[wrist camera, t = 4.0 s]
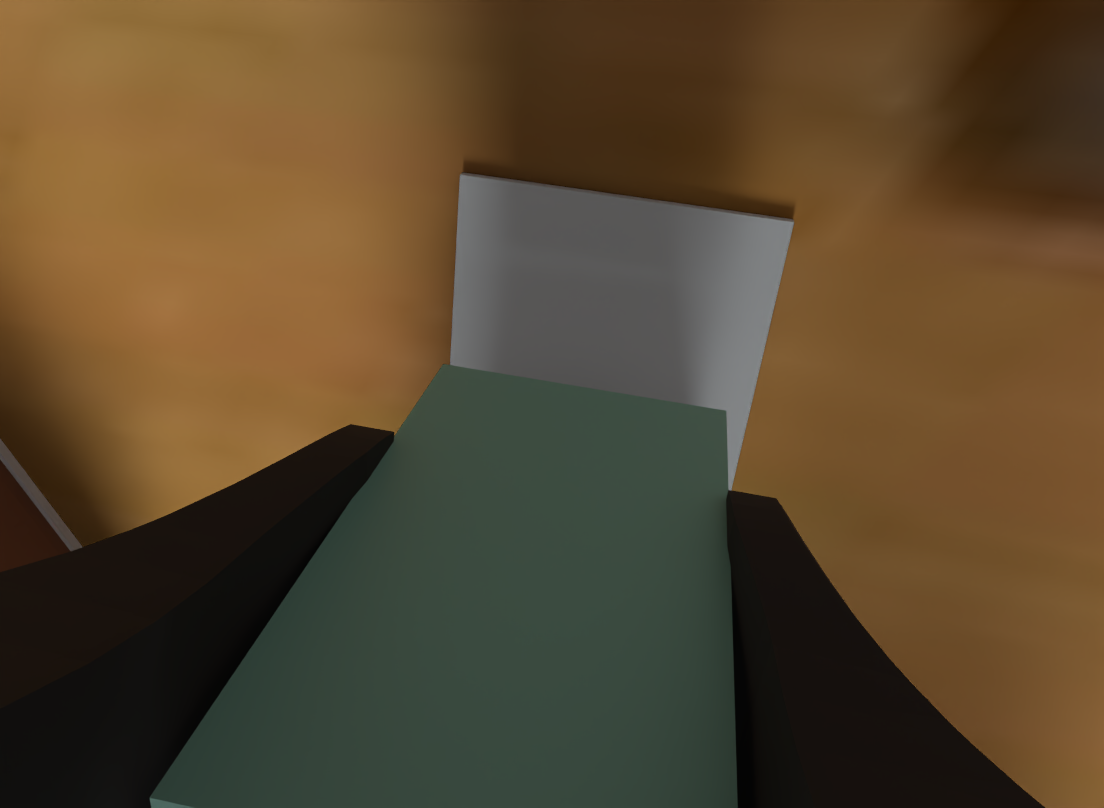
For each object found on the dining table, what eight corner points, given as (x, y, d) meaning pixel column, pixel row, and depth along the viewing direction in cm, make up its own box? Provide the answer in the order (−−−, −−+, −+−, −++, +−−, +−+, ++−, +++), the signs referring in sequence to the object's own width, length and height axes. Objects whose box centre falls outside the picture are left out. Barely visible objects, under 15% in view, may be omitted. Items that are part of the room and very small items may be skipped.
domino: (706, 498, 14) (699, 1053, 7) (439, 452, 14) (171, 927, 7) (726, 410, 13) (740, 930, 6) (443, 363, 14) (150, 797, 6)
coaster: (726, 502, 18) (727, 506, 18) (447, 452, 19) (445, 457, 18) (793, 219, 15) (794, 222, 15) (463, 172, 16) (460, 174, 16)
